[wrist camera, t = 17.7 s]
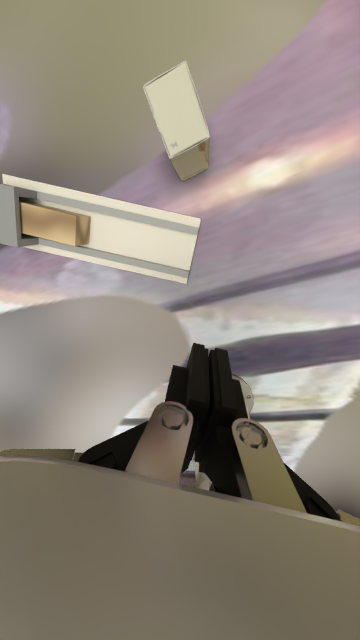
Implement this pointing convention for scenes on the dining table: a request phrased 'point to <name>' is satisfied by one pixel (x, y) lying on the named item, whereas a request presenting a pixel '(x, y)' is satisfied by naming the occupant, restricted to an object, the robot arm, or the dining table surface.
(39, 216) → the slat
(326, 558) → the robot arm
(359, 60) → the dining table surface
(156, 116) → the skincare box
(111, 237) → the board
